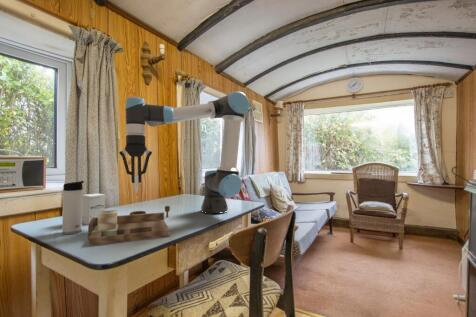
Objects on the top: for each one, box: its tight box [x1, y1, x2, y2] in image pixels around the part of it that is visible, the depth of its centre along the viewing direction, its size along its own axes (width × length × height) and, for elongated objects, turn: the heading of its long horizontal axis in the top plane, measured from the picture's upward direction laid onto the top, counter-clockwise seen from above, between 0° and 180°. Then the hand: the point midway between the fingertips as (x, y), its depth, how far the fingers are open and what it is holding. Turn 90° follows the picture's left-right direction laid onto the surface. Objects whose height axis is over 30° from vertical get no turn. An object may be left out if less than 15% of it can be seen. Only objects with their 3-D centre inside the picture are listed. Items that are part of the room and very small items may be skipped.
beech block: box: [98, 209, 118, 231], centre depth 91 cm, size 6×6×6 cm
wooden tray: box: [87, 212, 170, 247], centre depth 92 cm, size 27×17×6 cm, turn 115°
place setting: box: [129, 205, 171, 218], centre depth 110 cm, size 18×20×6 cm
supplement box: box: [82, 193, 106, 226], centre depth 107 cm, size 7×7×13 cm
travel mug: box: [61, 180, 85, 236], centre depth 93 cm, size 6×7×20 cm
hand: (136, 190), depth 100 cm, fingers closed
